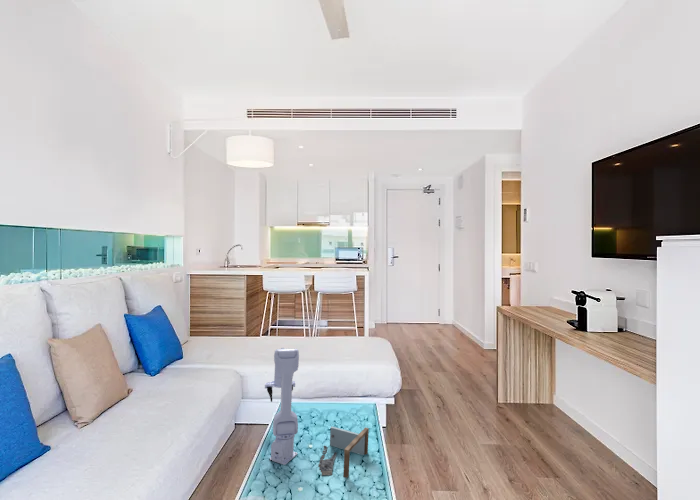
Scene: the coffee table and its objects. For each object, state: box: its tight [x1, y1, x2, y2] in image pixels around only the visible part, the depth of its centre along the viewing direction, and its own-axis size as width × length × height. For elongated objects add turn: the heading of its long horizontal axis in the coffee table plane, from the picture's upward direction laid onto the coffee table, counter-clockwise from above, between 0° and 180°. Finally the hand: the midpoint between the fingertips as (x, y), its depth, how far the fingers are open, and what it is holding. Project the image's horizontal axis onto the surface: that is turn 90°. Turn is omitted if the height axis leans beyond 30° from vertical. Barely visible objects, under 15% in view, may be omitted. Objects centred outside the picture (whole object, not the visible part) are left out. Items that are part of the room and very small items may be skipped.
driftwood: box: [317, 445, 337, 476], centre depth 166 cm, size 21×7×2 cm, turn 174°
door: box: [329, 426, 365, 456], centre depth 174 cm, size 16×2×8 cm, turn 64°
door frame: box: [342, 427, 370, 479], centre depth 164 cm, size 20×2×11 cm, turn 154°
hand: (279, 400), depth 198 cm, fingers open, 7 cm apart
